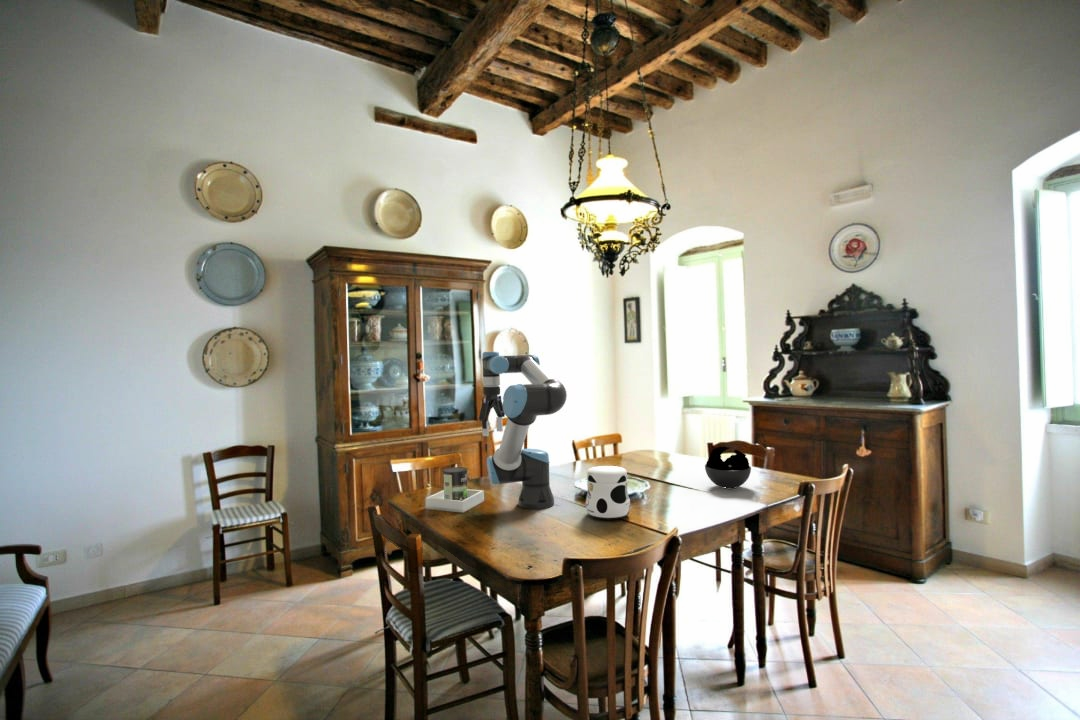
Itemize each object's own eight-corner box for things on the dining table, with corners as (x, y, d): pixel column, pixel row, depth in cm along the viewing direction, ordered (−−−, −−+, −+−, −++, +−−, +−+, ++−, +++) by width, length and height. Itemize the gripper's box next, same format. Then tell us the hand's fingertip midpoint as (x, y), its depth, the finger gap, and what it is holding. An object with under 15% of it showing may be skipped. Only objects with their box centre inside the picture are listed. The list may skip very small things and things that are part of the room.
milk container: (578, 513, 214) (577, 468, 214) (615, 507, 221) (614, 463, 221) (599, 525, 199) (598, 477, 198) (639, 518, 205) (638, 471, 205)
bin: (484, 500, 236) (484, 490, 236) (463, 512, 219) (462, 501, 219) (449, 497, 243) (448, 487, 242) (425, 508, 226) (425, 498, 226)
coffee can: (471, 499, 235) (470, 467, 235) (463, 505, 225) (462, 472, 225) (449, 498, 237) (448, 466, 237) (440, 505, 227) (439, 471, 227)
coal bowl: (702, 482, 258) (701, 443, 258) (745, 482, 255) (744, 443, 255) (709, 493, 238) (708, 451, 238) (756, 494, 235) (755, 451, 235)
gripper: (496, 384, 252) (498, 429, 253) (470, 388, 229) (471, 437, 230) (511, 384, 250) (512, 429, 250) (485, 388, 227) (487, 438, 227)
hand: (492, 433), depth 240 cm, fingers open, 13 cm apart
